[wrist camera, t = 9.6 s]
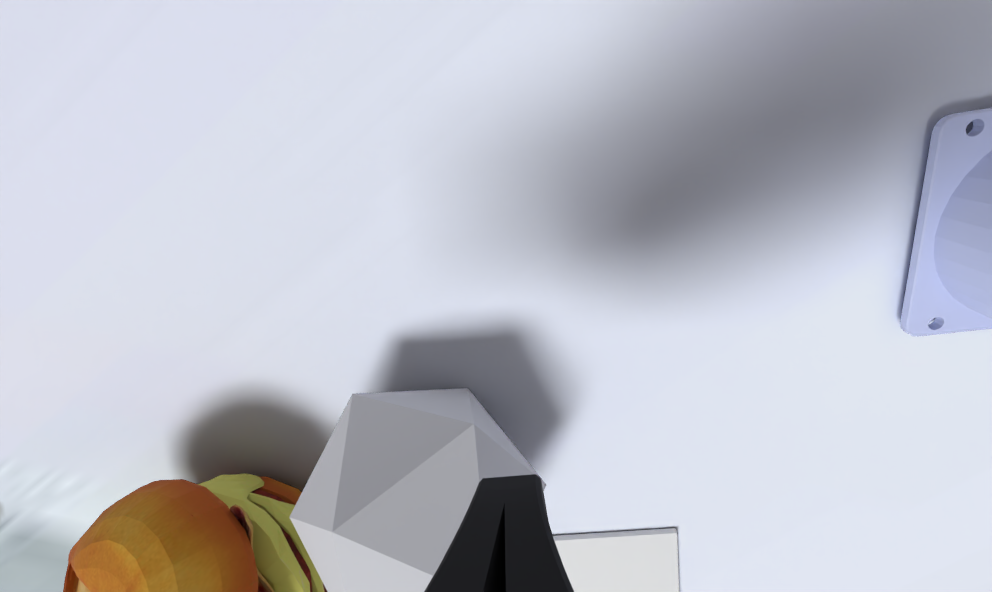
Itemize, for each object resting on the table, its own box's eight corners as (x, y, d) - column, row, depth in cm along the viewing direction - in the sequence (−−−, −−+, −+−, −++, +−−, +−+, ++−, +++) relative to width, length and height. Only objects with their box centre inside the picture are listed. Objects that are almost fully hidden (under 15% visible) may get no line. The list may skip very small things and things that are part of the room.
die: (402, 300, 19) (338, 441, 24) (284, 483, 11) (226, 634, 16) (582, 389, 20) (483, 507, 25) (584, 615, 12) (441, 719, 17)
